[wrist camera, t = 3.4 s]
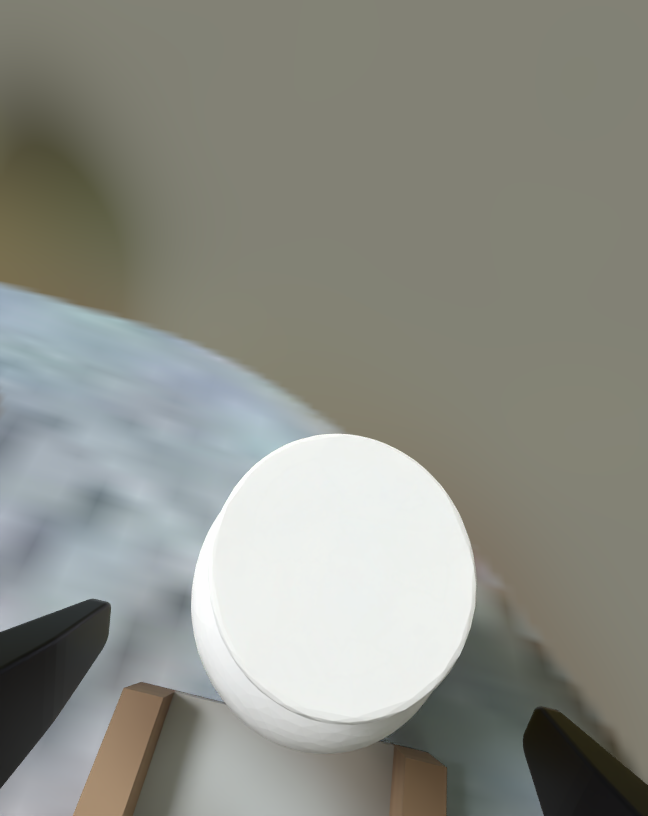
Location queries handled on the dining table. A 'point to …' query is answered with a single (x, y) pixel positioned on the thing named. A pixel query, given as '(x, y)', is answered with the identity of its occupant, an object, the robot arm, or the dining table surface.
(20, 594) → the dining table surface
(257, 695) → the supplement bottle
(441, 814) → the open-ended tray
